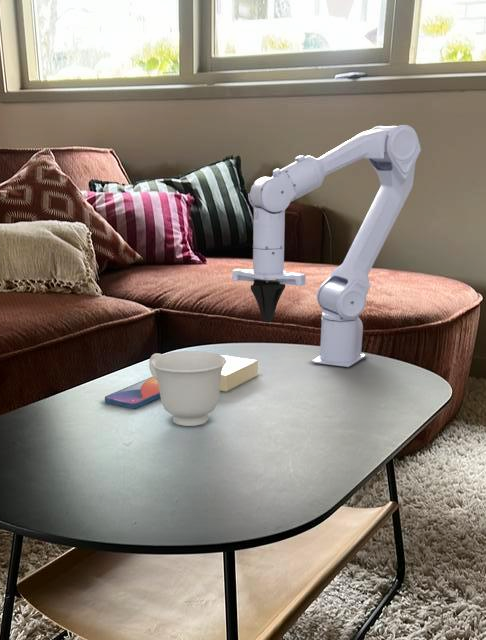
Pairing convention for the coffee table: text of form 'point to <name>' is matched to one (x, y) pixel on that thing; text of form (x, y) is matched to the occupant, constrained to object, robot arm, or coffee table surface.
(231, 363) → the book
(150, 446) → the coffee table surface
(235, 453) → the coffee table surface
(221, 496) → the coffee table surface
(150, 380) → the smartphone
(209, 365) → the teacup
